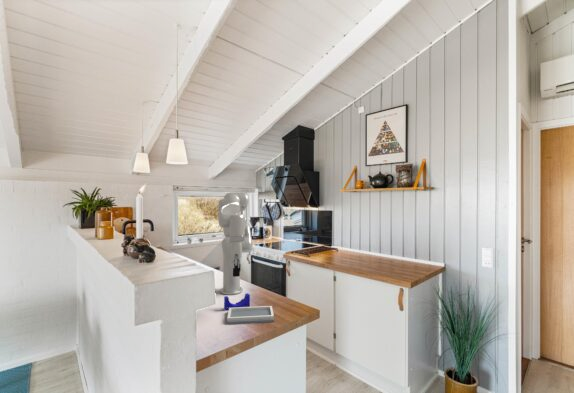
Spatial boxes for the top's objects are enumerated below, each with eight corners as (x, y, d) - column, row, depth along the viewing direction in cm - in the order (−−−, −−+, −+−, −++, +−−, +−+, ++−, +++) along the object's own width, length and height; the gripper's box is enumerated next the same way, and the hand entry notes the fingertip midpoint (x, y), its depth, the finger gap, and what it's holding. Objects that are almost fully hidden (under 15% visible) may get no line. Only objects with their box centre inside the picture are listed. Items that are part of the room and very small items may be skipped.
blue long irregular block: (247, 304, 142) (247, 292, 142) (249, 307, 138) (249, 295, 138) (223, 307, 137) (223, 295, 138) (225, 311, 133) (225, 298, 133)
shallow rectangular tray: (229, 311, 132) (229, 306, 132) (271, 309, 135) (271, 305, 135) (226, 324, 118) (226, 319, 118) (274, 322, 121) (274, 316, 121)
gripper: (230, 237, 147) (230, 270, 147) (227, 241, 130) (227, 278, 129) (245, 237, 148) (244, 269, 148) (244, 241, 131) (244, 278, 130)
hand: (236, 273), depth 138 cm, fingers open, 9 cm apart
